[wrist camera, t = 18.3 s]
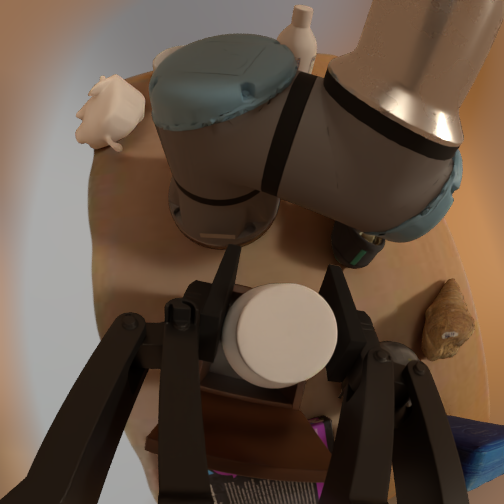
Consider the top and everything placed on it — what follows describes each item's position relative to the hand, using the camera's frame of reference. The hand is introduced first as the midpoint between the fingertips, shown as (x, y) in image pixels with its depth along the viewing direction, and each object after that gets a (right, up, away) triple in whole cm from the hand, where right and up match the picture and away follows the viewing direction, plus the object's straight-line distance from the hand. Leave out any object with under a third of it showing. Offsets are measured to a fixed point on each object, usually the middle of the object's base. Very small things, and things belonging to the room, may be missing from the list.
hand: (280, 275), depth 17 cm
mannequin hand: (-31, +22, +23) cm, 44 cm away
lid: (-2, -9, -2) cm, 10 cm away
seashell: (+26, -9, +18) cm, 33 cm away
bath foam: (+5, +31, +30) cm, 43 cm away
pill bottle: (-1, -5, +2) cm, 5 cm away
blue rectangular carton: (+22, -25, +13) cm, 36 cm away
